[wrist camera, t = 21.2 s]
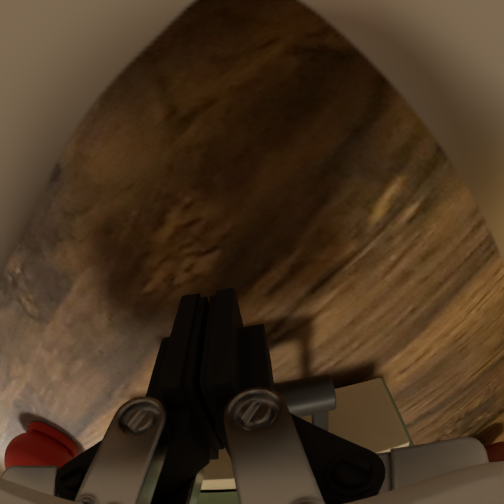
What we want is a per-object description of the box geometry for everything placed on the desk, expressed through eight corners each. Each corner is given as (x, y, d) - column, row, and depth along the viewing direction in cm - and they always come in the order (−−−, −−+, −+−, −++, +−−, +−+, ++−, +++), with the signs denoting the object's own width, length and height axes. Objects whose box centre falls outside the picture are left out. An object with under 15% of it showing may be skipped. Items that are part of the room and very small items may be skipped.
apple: (8, 410, 17) (-24, 475, 10) (60, 418, 16) (28, 499, 10) (48, 453, 19) (27, 513, 12) (100, 463, 19) (82, 533, 12)
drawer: (95, 359, 13) (63, 428, 9) (387, 316, 12) (431, 385, 8) (199, 499, 20) (196, 541, 16) (359, 478, 19) (370, 520, 15)
